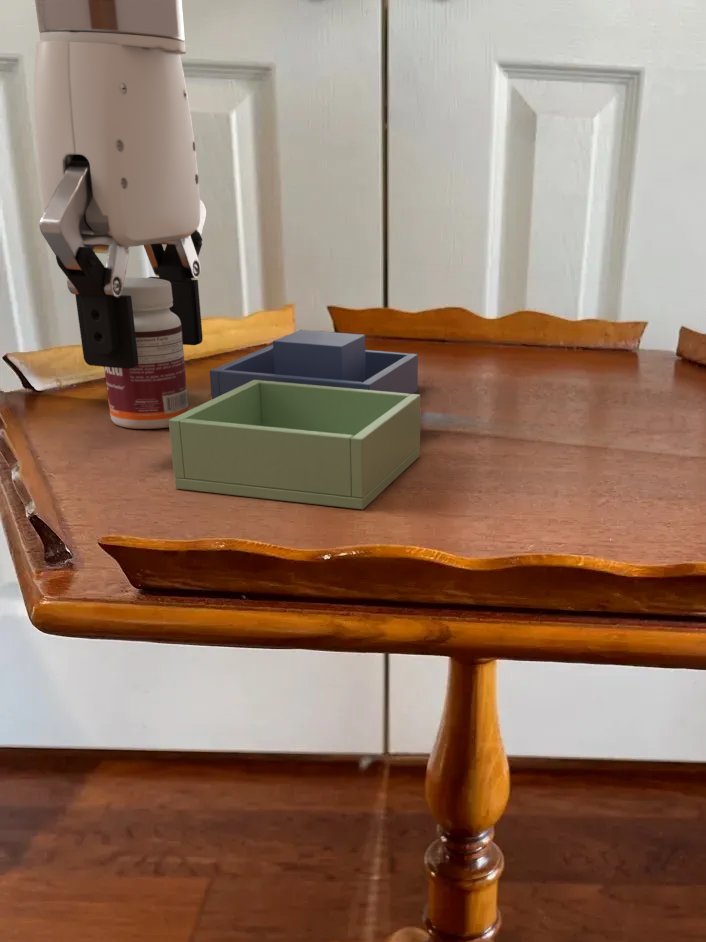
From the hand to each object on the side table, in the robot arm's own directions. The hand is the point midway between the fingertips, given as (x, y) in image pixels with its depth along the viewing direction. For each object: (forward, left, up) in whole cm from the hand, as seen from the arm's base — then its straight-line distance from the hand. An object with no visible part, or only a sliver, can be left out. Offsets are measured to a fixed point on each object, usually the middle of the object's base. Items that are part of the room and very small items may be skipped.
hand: (146, 352), depth 63 cm
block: (+10, +5, -4) cm, 11 cm away
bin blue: (+9, +5, -4) cm, 11 cm away
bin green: (+13, -7, -4) cm, 15 cm away
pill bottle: (0, 0, -4) cm, 4 cm away
